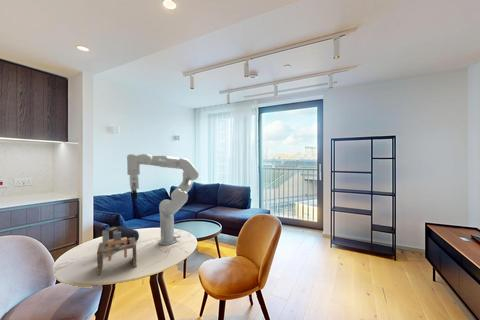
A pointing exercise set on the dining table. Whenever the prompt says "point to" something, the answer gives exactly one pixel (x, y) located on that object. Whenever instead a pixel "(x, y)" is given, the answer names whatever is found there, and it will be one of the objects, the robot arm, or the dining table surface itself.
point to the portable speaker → (129, 233)
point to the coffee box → (109, 236)
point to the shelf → (117, 247)
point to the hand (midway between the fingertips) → (134, 197)
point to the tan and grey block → (117, 240)
